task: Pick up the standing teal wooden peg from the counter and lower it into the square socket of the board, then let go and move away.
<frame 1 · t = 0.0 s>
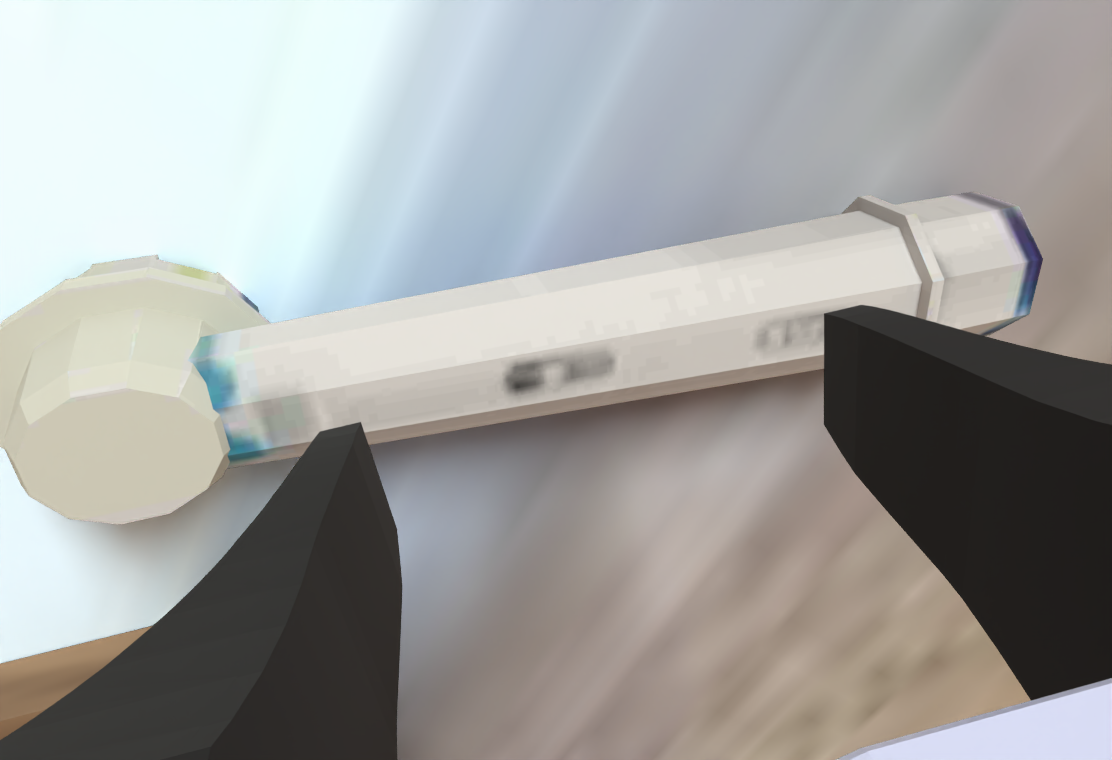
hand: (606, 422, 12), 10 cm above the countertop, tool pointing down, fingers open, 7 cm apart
cream knobbed rod: (528, 289, 23), on the countertop
socket board: (220, 750, 28), on the countertop
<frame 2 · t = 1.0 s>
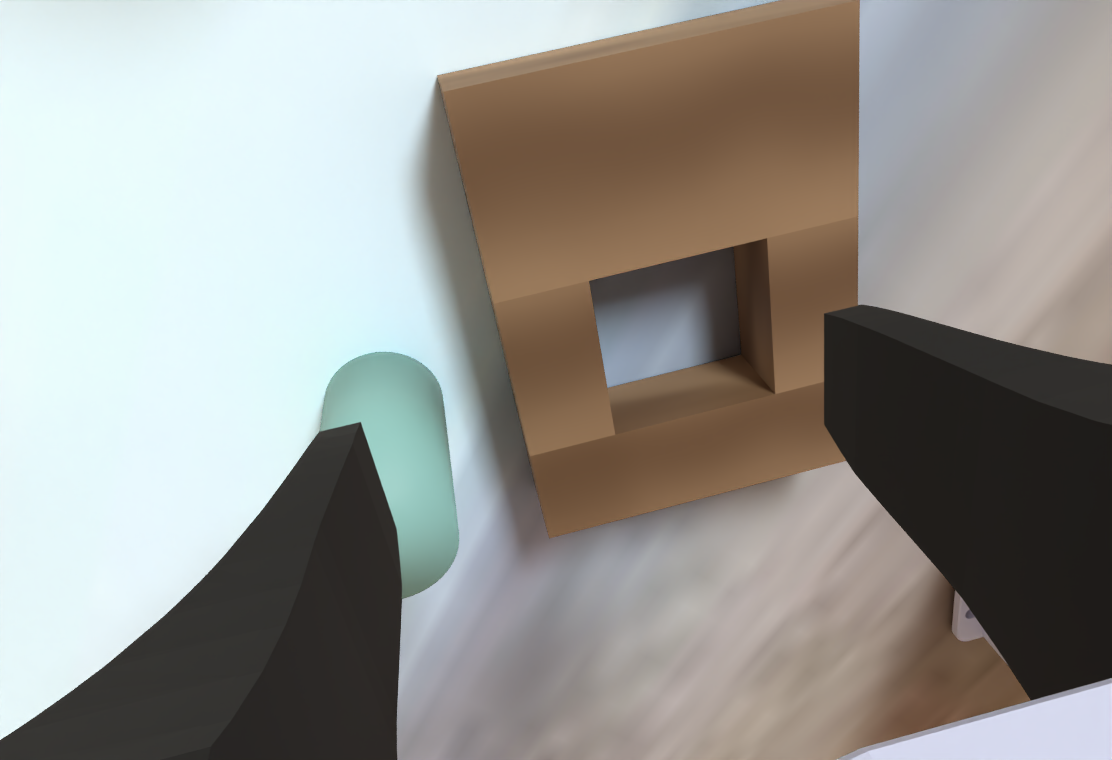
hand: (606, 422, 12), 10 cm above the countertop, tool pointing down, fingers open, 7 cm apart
peg: (384, 404, 22), on the countertop
socket board: (655, 270, 22), on the countertop
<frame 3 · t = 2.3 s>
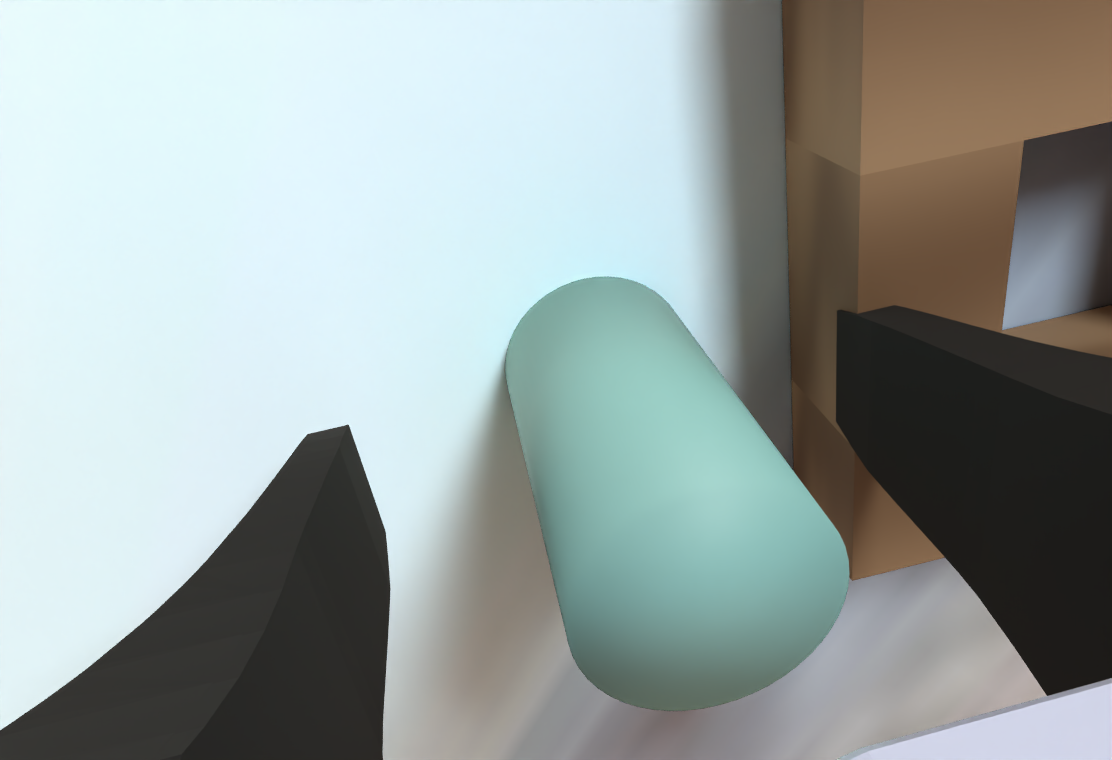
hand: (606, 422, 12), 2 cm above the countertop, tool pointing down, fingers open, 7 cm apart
peg: (596, 363, 14), on the countertop
socket board: (1043, 156, 14), on the countertop
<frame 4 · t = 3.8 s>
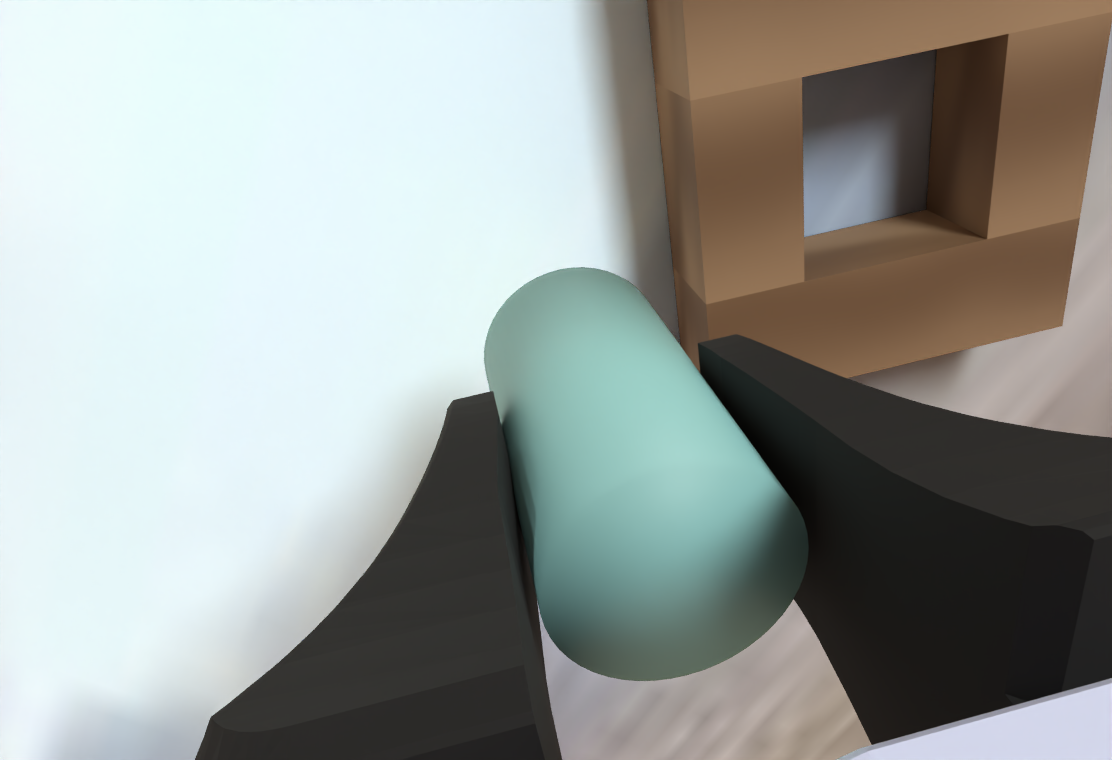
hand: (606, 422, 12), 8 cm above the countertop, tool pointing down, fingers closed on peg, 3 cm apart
peg: (573, 352, 15), point 5 cm above the countertop, touching gripper
socket board: (846, 97, 19), on the countertop
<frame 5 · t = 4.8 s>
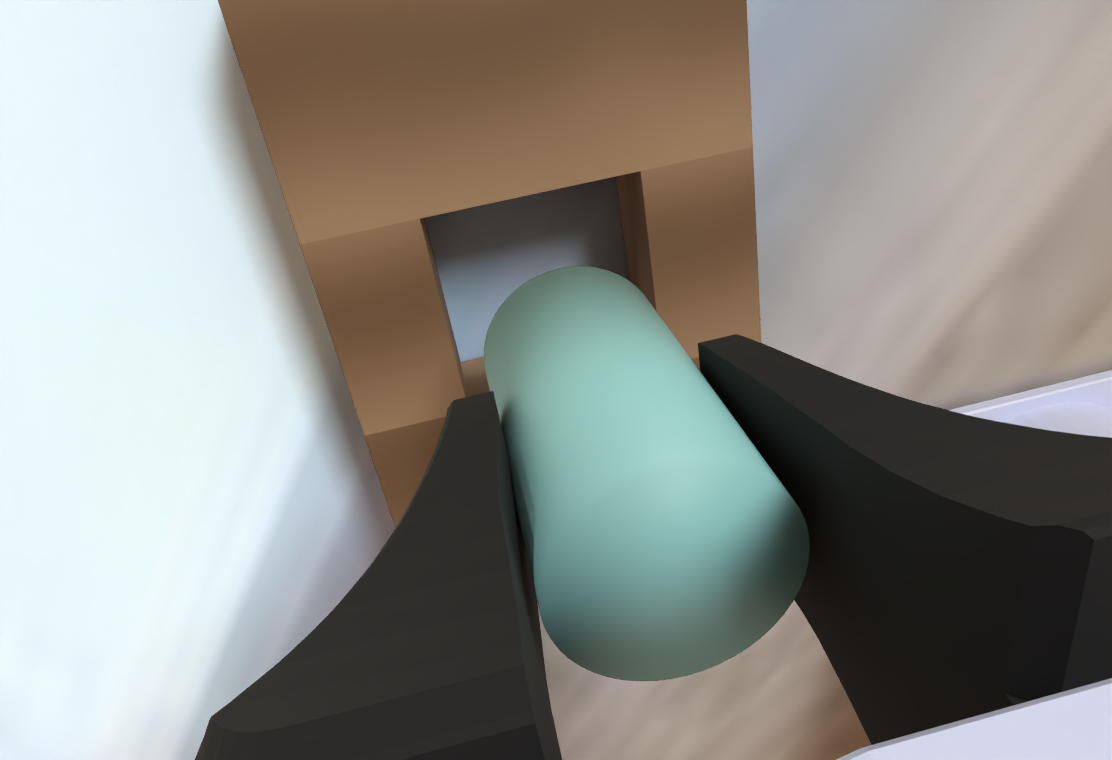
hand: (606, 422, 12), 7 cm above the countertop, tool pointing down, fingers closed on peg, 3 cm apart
peg: (573, 351, 14), point 5 cm above the countertop, touching gripper
socket board: (524, 217, 18), on the countertop
when the fingers open (3 cm above the countertop, at t = 6.0 s): peg stays where it is, resting in socket board.
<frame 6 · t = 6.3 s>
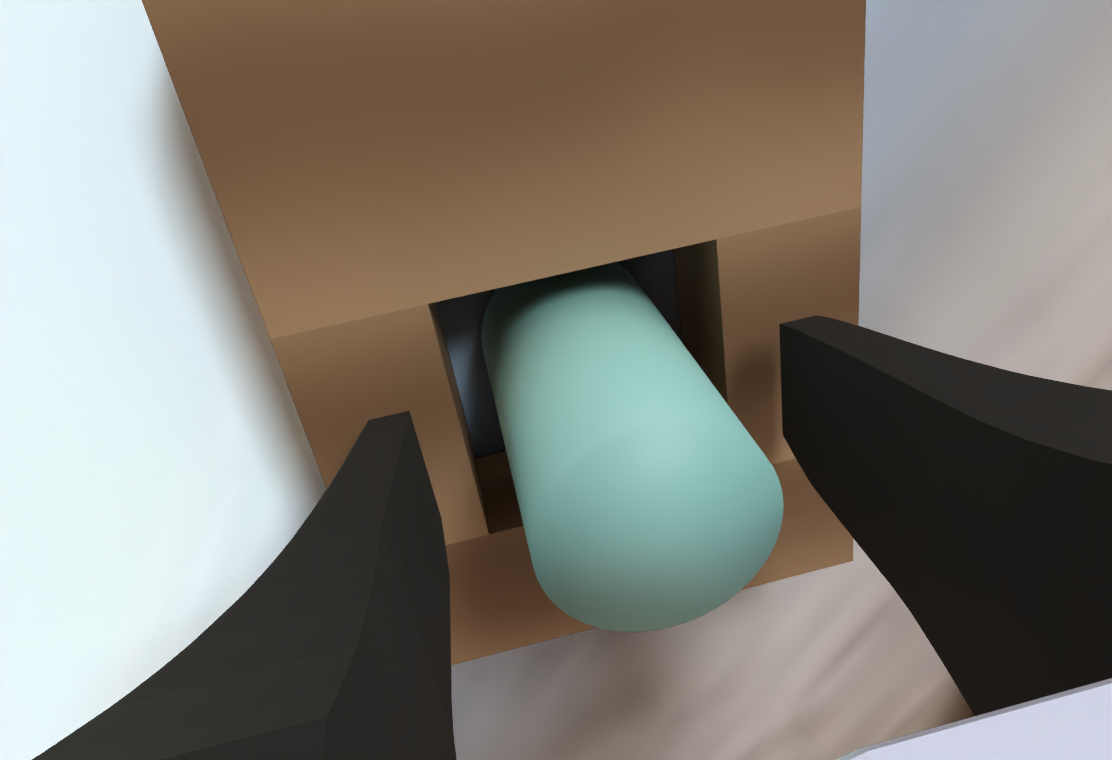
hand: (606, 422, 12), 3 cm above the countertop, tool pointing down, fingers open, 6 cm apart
peg: (566, 332, 15), resting in socket board
socket board: (557, 286, 15), on the countertop
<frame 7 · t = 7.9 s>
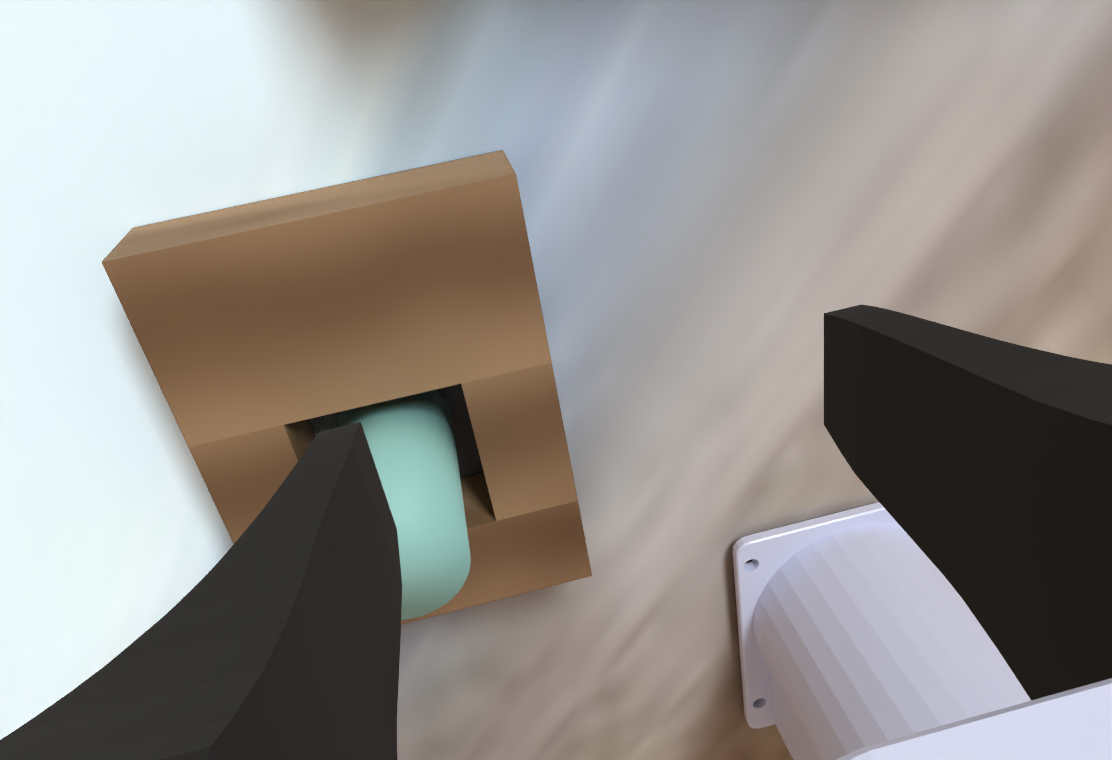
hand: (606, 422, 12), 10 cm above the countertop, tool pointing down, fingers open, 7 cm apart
peg: (396, 425, 23), resting in socket board
socket board: (386, 398, 23), on the countertop
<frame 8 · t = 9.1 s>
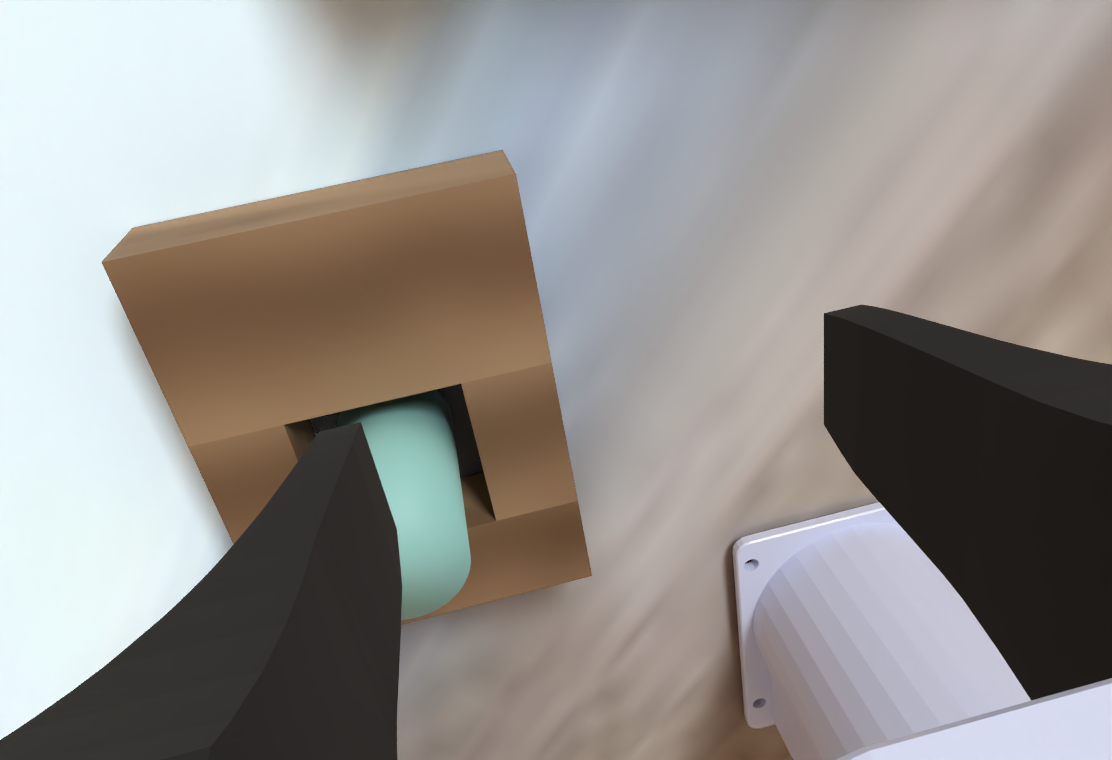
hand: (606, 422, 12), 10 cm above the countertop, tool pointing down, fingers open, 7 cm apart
peg: (395, 426, 23), resting in socket board
socket board: (386, 398, 23), on the countertop
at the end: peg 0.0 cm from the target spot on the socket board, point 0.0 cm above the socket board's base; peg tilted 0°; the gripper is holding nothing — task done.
